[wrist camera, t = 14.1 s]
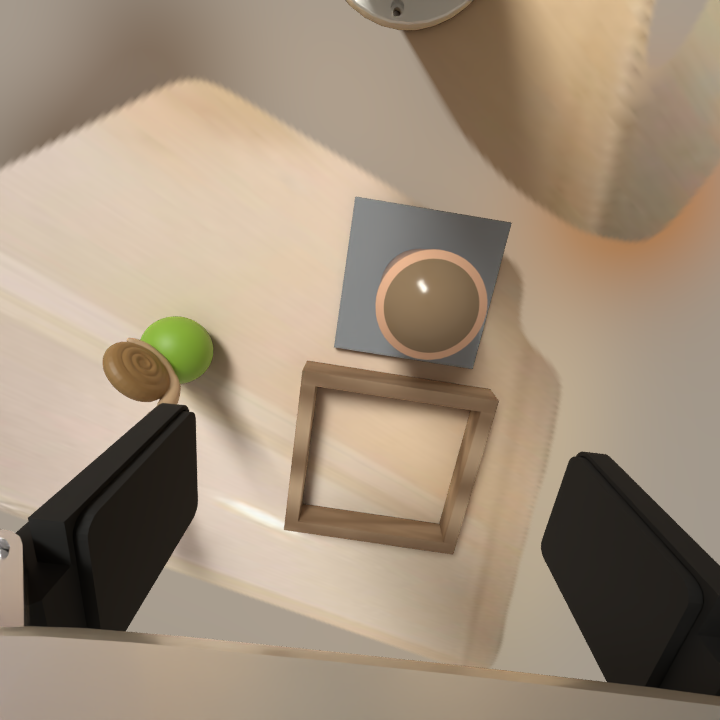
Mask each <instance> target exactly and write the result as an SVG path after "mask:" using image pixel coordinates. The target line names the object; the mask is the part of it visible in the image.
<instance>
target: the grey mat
mask: <svg viewBox="0 0 720 720" xmlns="http://www.w3.org/2000/svg"><path fill="white" fill-rule="evenodd" d="M510 227H511V223H510V222H504V221H498V220H492V219H486V218H480V217H474V216H468V215H462V214H457V213H451V212H444V211H439V210H433V209H427V208H421V207H415V206H409V205H403V204H397V203H391V202H385V201H379V200H373V199H367V198H361V197H355V203H354V210H353V217H352V224H351V231H350V239H349V246H348V253H347V260H346V267H345V274H344V281H343V288H342V295H341V302H340V309H339V316H338V323H337V330H336V338H335V345H334V347H336V348H342V349H348V350H355V351H361V352H367V353H374V354H380V355H386V356H393V357H399V358H406V359H412V360H418V361H425V362H431V363H437V364H444V365H450V366H456V367H463V368H469V369H473V366H474V362H475V358H476V354H477V351H478V347H479V343H480V339H481V336H482V332H483V328H484V324H485V321H486V317H487V313H488V309H489V306H490V302H491V298H492V294H493V291H494V287H495V283H496V279H497V276H498V272H499V268H500V264H501V261H502V257H503V253H504V249H505V246H506V242H507V238H508V234H509V231H510ZM411 249H439V250H445V251H449V252H451V253H454V254H456V255H459V256H460V257H462V258H464V259H465V260H467V261H468V262H469V263H471V265H472V266H473V267H474V268H475V269H476V270H477V271H478V273H479V274H480V276H481V278H482V280H483V282H484V285H485V288H486V293H487V311H486V316H485V319H484V322H483V325H482V327H481V329H480V330H479V332H478V333H477V335H476V336H475V338H474V339H473V340H472V341H471V342H470V343H469V344H468V345H467V346H466V347H464V348H463V349H462V350H460V351H458V352H457V353H455V354H453V355H450V356H448V357H444V358H441V359H434V360H424V359H417V358H413V357H410V356H407V355H405V354H403V353H401V352H400V351H398V350H397V349H395V348H394V347H393V346H392V345H391V344H390V343H389V342H388V341H387V340H386V338H385V337H384V335H383V334H382V332H381V330H380V328H379V325H378V322H377V317H376V295H377V291H378V288H379V285H380V282H381V277H382V274H383V272H384V270H385V268H386V266H387V265H388V264H389V262H390V261H391V260H392V259H393V258H395V257H396V256H397V255H399V254H400V253H402V252H405V251H408V250H411Z"/></svg>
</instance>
